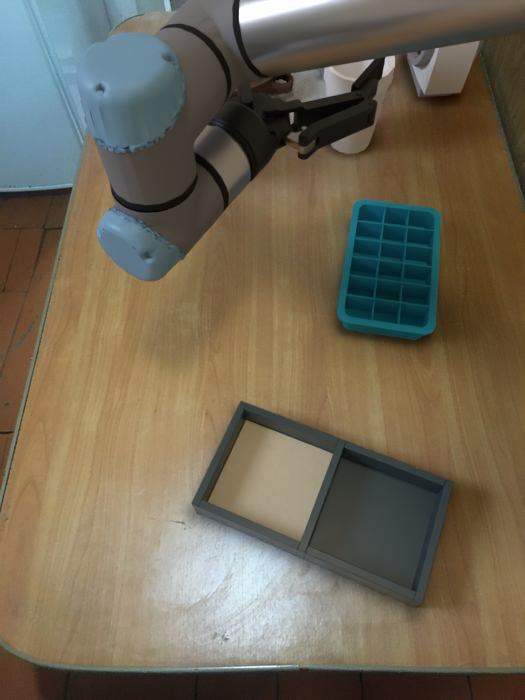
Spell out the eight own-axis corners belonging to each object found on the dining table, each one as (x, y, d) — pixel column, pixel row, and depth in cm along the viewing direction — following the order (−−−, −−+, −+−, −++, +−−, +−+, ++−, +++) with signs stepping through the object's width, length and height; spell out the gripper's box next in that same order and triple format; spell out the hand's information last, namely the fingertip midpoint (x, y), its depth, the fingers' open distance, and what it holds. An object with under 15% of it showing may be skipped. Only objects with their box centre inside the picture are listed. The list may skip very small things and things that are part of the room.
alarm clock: (393, 45, 97) (419, -92, 79) (442, 42, 97) (478, -95, 79) (413, 112, 88) (447, -25, 70) (466, 109, 88) (513, -29, 70)
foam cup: (310, 127, 87) (314, 47, 76) (364, 113, 88) (377, 33, 77) (332, 167, 82) (341, 88, 71) (389, 152, 84) (407, 72, 72)
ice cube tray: (436, 224, 76) (441, 208, 74) (429, 348, 67) (435, 335, 64) (352, 213, 78) (354, 197, 75) (333, 334, 68) (335, 321, 65)
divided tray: (444, 491, 58) (454, 481, 55) (414, 607, 53) (422, 604, 50) (242, 413, 63) (240, 400, 60) (195, 512, 58) (190, 503, 55)
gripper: (135, 142, 62) (241, 45, 71) (328, 231, 55) (419, 111, 64) (119, 81, 56) (237, -18, 64) (335, 173, 49) (435, 49, 57)
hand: (328, 46), depth 64 cm, fingers open, 13 cm apart
